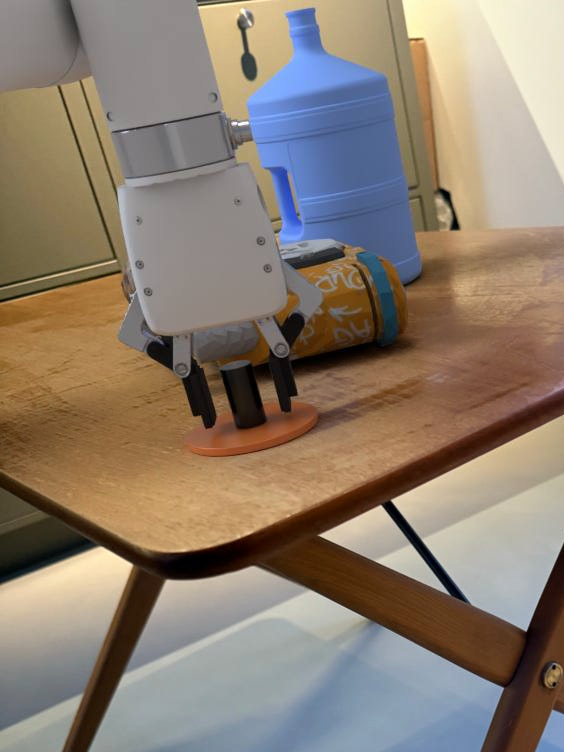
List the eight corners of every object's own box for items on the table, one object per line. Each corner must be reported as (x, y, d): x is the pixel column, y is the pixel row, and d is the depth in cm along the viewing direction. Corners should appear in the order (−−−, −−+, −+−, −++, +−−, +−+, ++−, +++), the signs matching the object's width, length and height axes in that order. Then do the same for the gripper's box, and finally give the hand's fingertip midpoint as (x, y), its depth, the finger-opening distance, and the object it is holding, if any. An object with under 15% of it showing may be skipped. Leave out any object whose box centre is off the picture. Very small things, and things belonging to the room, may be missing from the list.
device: (141, 313, 83) (118, 266, 108) (172, 412, 87) (144, 345, 112) (407, 250, 88) (327, 219, 113) (425, 347, 92) (344, 297, 117)
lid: (182, 466, 74) (160, 397, 72) (193, 425, 83) (173, 361, 80) (320, 438, 75) (303, 368, 72) (316, 399, 83) (301, 336, 81)
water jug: (435, 263, 127) (390, -4, 113) (406, 294, 114) (350, -4, 100) (315, 279, 130) (257, 22, 116) (273, 310, 117) (201, 25, 103)
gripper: (301, 126, 73) (357, 379, 82) (58, 172, 72) (142, 423, 81) (303, 131, 66) (363, 406, 75) (35, 182, 65) (129, 454, 74)
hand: (248, 412), depth 78 cm, fingers open, 5 cm apart
